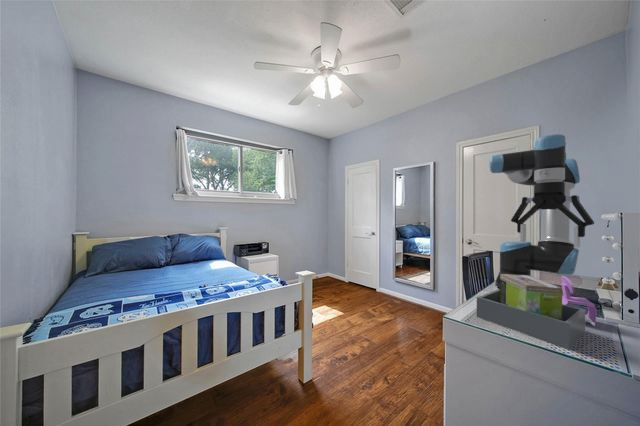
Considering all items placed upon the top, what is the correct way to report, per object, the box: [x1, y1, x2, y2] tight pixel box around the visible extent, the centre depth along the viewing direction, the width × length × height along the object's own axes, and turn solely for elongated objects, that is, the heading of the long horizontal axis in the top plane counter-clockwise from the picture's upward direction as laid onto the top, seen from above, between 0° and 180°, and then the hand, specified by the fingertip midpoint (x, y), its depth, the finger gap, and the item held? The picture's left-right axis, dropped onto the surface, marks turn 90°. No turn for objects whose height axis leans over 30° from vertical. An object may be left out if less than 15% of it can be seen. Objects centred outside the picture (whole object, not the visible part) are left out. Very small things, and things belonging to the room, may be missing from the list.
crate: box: [476, 288, 586, 350], centre depth 78 cm, size 18×23×7 cm
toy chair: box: [560, 275, 598, 323], centre depth 82 cm, size 8×9×15 cm
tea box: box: [500, 274, 563, 320], centre depth 78 cm, size 15×10×15 cm
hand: (548, 244), depth 80 cm, fingers open, 13 cm apart
